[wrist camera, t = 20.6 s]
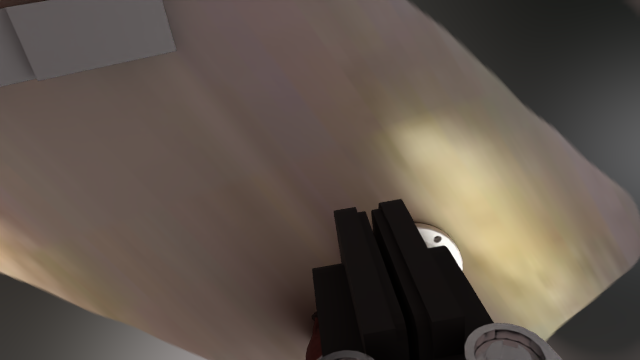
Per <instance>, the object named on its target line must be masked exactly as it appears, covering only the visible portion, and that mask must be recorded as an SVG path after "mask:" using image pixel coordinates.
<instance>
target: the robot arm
mask: <svg viewBox="0 0 640 360" xmlns="http://www.w3.org/2000/svg"><path fill="white" fill-rule="evenodd" d="M371 214H372V224H373V231H372V228H371V226H370V223H369V220H368V217H367V215H366V212H365V211H364V212H358V213H357V210H356V207H353V208H347V209H341V210H336V211H334V217H335V224H336V230H337V236H338V243H339V249H340V256H341V262H342V263H341V264H336V265H330V266H325V267H319V268H313V269H312V272H313V281H314V290H315V298H316V306H317V315H318V323H319V332H320V340H321V349H322V358H321V359H320V360H562V359H561V358H560V357H559V355H558V354H557V353H556V352H555V351H554V350H553V349H552V348H551V347H550V346H549V345H548V344H547V343H546V342H545V341H544V340H543V339H542V338H540V337H539V336H538V335H537V334H535V333H533V332H531V331H529V330H528V329H526V328H524V327H520V326H517V325H513V324H507V323H494V322H493V321H492V319H491V318H490V316H489V314H488V313H487V311H486V309H485V308H484V306H483V304H482V303H481V301H480V299H479V298H478V296H477V295H476V293H475V291H474V290H473V288H472V286H471V285H470V283H469V281H468V280H467V278H466V277H465V275H464V273H463V272H462V271H463V261H462V257H461V254H460V251H459V249H458V247H457V246H456V244H455V242H454V241H453V240H452V239H451V238H450V236H449V235H447V234H446V233H445V232H443V231H442V230H440V229H438V228H436V227H433V226H430V225H426V224H422V223H414V221H413V219H412V217H411V215H410V214H409V212H408V210H407V208H406V206H405V204H404V202H403V201H402V199H398V200H393V201H387V202H381V203H379V209H375V210H372V211H371ZM373 233H374V234H373Z"/></svg>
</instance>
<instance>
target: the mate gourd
mask: <svg viewBox="0 0 640 360" xmlns="http://www.w3.org/2000/svg"><path fill="white" fill-rule="evenodd" d="M312 319H313V320H314V321H315V323H314V327H313V335H312V338H311V340H310V343H309V345H308V347H307V352H306V360H320V359H321V358H322V349H321V340H320V332H319V323H318V315H317V312H316V313H314V314H313V315H312Z"/></svg>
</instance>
